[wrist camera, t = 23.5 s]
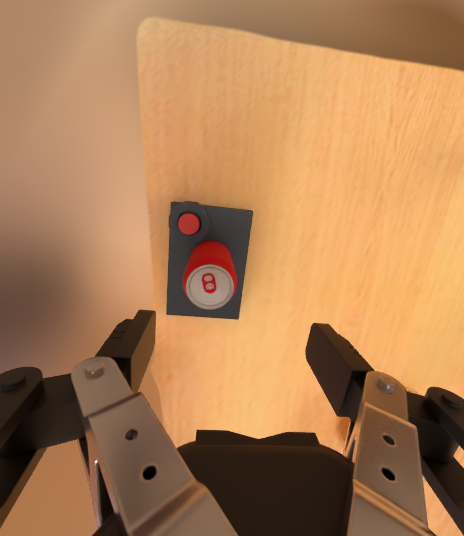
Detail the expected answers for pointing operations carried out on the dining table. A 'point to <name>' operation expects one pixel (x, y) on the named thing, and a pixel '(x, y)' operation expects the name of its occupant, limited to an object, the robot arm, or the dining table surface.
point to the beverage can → (210, 275)
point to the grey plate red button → (181, 245)
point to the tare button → (188, 223)
